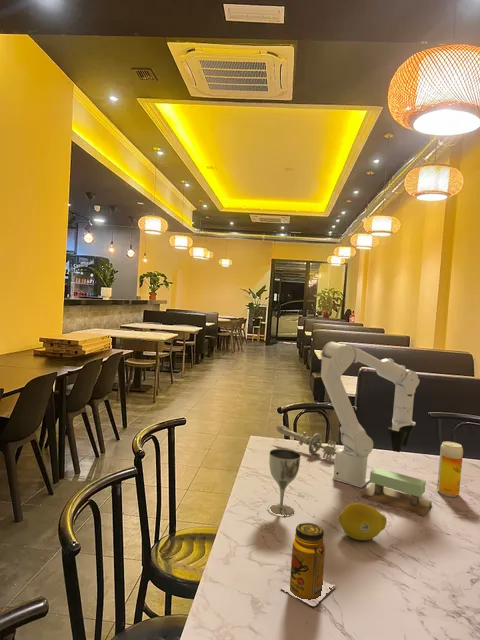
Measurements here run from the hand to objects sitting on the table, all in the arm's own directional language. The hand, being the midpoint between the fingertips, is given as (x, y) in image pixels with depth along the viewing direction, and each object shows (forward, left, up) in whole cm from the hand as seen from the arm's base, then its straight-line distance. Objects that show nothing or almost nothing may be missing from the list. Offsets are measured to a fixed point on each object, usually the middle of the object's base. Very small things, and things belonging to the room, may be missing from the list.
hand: (399, 448), depth 142 cm
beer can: (+15, 0, -10) cm, 18 cm away
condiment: (+3, -69, -10) cm, 70 cm away
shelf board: (+4, -17, -6) cm, 19 cm away
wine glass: (-17, -45, -10) cm, 49 cm away
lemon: (+4, -44, -10) cm, 45 cm away
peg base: (+5, -17, -10) cm, 20 cm away
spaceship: (-30, +1, -10) cm, 32 cm away
